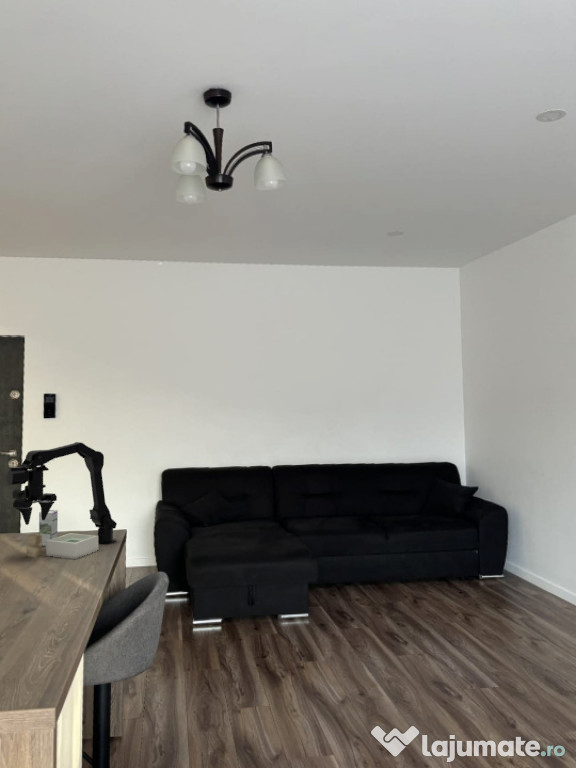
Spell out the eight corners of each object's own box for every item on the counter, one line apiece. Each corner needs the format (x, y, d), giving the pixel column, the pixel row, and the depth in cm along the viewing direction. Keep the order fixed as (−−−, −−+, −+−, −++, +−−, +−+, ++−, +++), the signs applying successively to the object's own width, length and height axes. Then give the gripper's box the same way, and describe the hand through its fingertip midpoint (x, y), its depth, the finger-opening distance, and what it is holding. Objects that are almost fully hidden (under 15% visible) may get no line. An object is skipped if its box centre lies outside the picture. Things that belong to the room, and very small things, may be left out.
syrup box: (58, 543, 269) (58, 509, 269) (51, 546, 263) (51, 512, 263) (45, 543, 269) (45, 509, 269) (38, 546, 263) (38, 511, 263)
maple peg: (33, 554, 251) (33, 533, 251) (41, 554, 250) (41, 534, 250) (26, 556, 247) (26, 536, 247) (34, 557, 246) (34, 536, 246)
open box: (70, 547, 261) (70, 533, 261) (98, 550, 256) (98, 535, 256) (46, 556, 248) (46, 540, 248) (75, 559, 243) (75, 543, 243)
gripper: (35, 478, 260) (35, 516, 260) (1, 485, 242) (1, 525, 242) (57, 479, 256) (57, 518, 256) (25, 486, 239) (24, 527, 238)
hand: (35, 522), depth 248 cm, fingers open, 9 cm apart
